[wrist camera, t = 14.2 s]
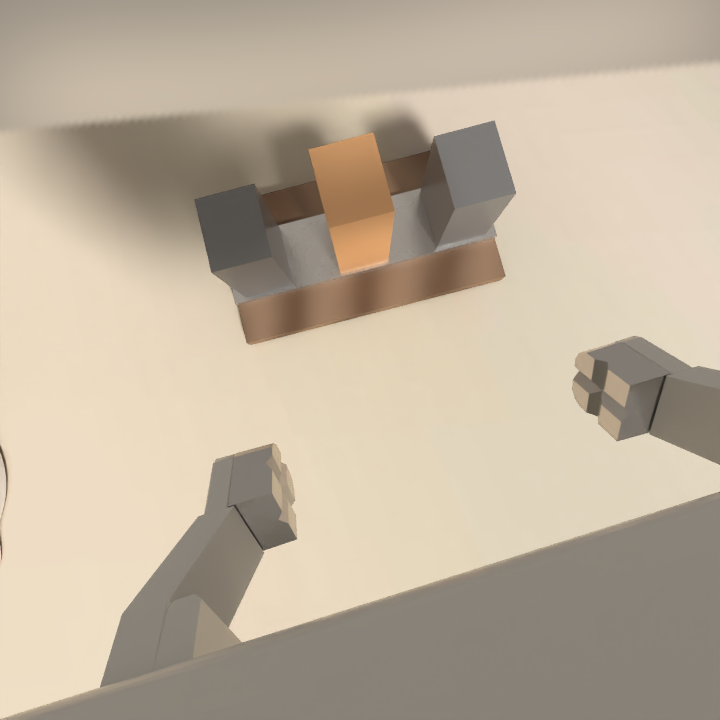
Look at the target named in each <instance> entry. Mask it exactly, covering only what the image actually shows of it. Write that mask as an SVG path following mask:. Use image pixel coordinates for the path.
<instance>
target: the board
mask: <svg viewBox="0 0 720 720" xmlns="http://www.w3.org/2000/svg"><path fill="white" fill-rule="evenodd" d="M429 155H430V151H427V152H423V153H420V154H416V155H412V156H408V157H404V158H401V159H397V160H393V161H389V162H385V163H382V166H383V169H384V173H385V177H386V180H387V184H388V187H389V191H390V195H391V196H393V195H397V194H401V193H404V192H408V191H412V190H416V189H420V188H421V187H422V183H423V179H424V175H425V171H426V167H427V163H428V159H429ZM261 196H262V198H263V200H264V202H265V203H266V205H267V207H268V209H269V210H270V212H271V214H272V216H273V217H274V219H275V221H276V223H277V224H278V225H282V224H286V223H290V222H294V221H298V220H301V219H305V218H309V217H313V216H317V215H320V214H324V213H325V212H324V208H323V204H322V201H321V197H320V193H319V189H318V185H317V181H313V182H309V183H306V184H302V185H298V186H294V187H290V188H287V189H283V190H279V191H275V192H271V193H268V194H264V195H261ZM504 277H505V273H504V269H503V266H502V262H501V259H500V256H499V252H498V249H497V245H496V242H495V239H492V240H488V241H484V242H480V243H477V244H473V245H469V246H465V247H461V248H457V249H453V250H450V251H446V252H442V253H438V254H434V255H430V256H427V257H423V258H419V259H415V260H411V261H407V262H404V263H400V264H396V265H392V266H388V267H384V268H380V269H377V270H373V271H369V272H365V273H361V274H357V275H354V276H350V277H346V278H342V279H338V280H334V281H331V282H327V283H323V284H319V285H315V286H311V287H307V288H304V289H300V290H296V291H292V292H288V293H284V294H281V295H277V296H273V297H269V298H265V299H261V300H257V301H254V302H250V303H246V304H242V305H238V308H239V312H240V316H241V320H242V325H243V329H244V333H245V338H246V342H247V343H248V344H251V345H252V344H256V343H260V342H264V341H268V340H271V339H275V338H279V337H283V336H287V335H291V334H295V333H298V332H302V331H306V330H310V329H314V328H318V327H322V326H326V325H329V324H333V323H337V322H341V321H345V320H349V319H353V318H356V317H360V316H364V315H368V314H372V313H376V312H380V311H383V310H387V309H391V308H395V307H399V306H403V305H407V304H410V303H414V302H418V301H422V300H426V299H430V298H434V297H437V296H441V295H445V294H449V293H453V292H457V291H461V290H464V289H468V288H472V287H476V286H480V285H484V284H488V283H491V282H495V281H499V280H501V279H503V278H504Z"/></svg>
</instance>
